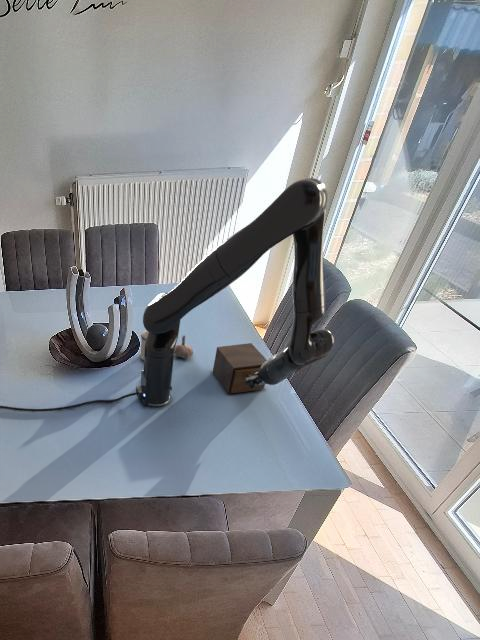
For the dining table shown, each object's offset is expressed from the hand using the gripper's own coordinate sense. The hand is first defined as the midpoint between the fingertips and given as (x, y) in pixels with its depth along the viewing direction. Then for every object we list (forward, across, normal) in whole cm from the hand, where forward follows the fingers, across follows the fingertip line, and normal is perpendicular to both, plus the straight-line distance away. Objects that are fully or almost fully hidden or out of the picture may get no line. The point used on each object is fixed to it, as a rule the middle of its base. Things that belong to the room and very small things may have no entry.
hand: (252, 385), depth 149 cm
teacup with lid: (+26, +23, -21) cm, 41 cm away
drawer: (+8, 0, -3) cm, 9 cm away
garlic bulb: (+25, +13, -20) cm, 34 cm away
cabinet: (+10, 0, -4) cm, 11 cm away
